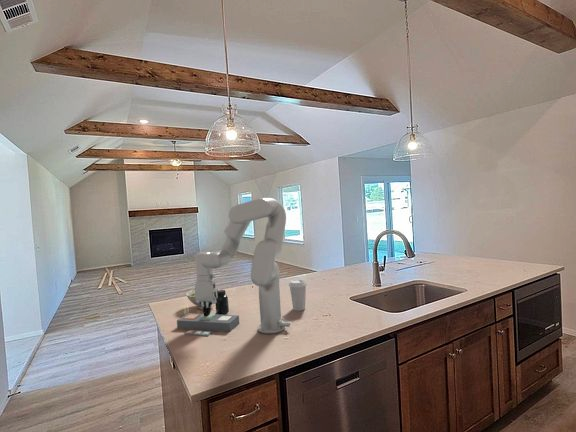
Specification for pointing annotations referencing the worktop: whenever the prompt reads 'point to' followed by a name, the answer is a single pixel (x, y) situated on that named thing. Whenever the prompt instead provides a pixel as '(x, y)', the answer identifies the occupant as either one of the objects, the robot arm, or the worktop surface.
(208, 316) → the sage key
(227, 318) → the cream key
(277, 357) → the worktop surface
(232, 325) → the keypad
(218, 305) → the supplement bottle
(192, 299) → the bowl
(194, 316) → the terracotta key
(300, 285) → the coffee cup
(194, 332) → the card
